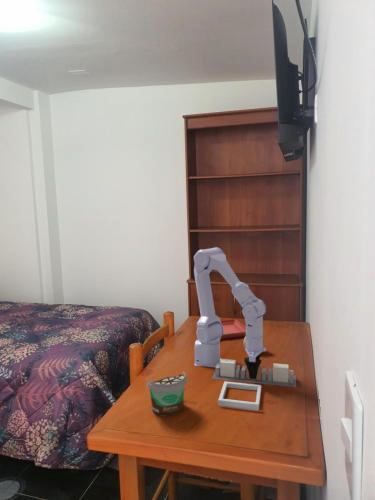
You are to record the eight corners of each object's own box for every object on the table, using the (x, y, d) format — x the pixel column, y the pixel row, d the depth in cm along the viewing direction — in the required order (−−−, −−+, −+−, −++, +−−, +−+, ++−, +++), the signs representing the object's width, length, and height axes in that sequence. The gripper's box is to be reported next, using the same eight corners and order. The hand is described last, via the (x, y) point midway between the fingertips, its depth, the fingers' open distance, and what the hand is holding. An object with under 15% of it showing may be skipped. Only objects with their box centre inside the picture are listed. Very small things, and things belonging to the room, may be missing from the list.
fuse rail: (211, 380, 130) (211, 370, 130) (215, 369, 138) (215, 360, 138) (296, 388, 124) (296, 378, 123) (295, 377, 131) (295, 367, 131)
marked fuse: (246, 378, 130) (246, 364, 129) (246, 374, 133) (247, 360, 132) (260, 379, 129) (261, 365, 128) (261, 375, 132) (261, 362, 131)
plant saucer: (250, 337, 171) (250, 330, 171) (212, 342, 166) (212, 334, 166) (235, 325, 188) (235, 318, 188) (200, 328, 184) (200, 322, 183)
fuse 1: (220, 375, 132) (220, 362, 132) (221, 372, 135) (221, 358, 134) (234, 377, 131) (234, 363, 130) (235, 373, 134) (235, 360, 133)
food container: (156, 423, 106) (155, 389, 105) (147, 412, 111) (146, 380, 110) (194, 411, 111) (194, 379, 110) (185, 401, 117) (184, 370, 116)
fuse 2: (272, 381, 128) (273, 367, 127) (273, 377, 131) (273, 363, 130) (288, 382, 126) (288, 368, 126) (288, 378, 129) (288, 364, 129)
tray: (218, 406, 114) (218, 399, 114) (224, 387, 125) (224, 381, 125) (258, 411, 111) (258, 404, 111) (261, 391, 122) (261, 385, 122)
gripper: (264, 344, 121) (264, 384, 123) (267, 329, 135) (266, 365, 137) (242, 342, 123) (242, 382, 124) (247, 327, 137) (247, 363, 138)
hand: (253, 373), depth 131 cm, fingers open, 7 cm apart
